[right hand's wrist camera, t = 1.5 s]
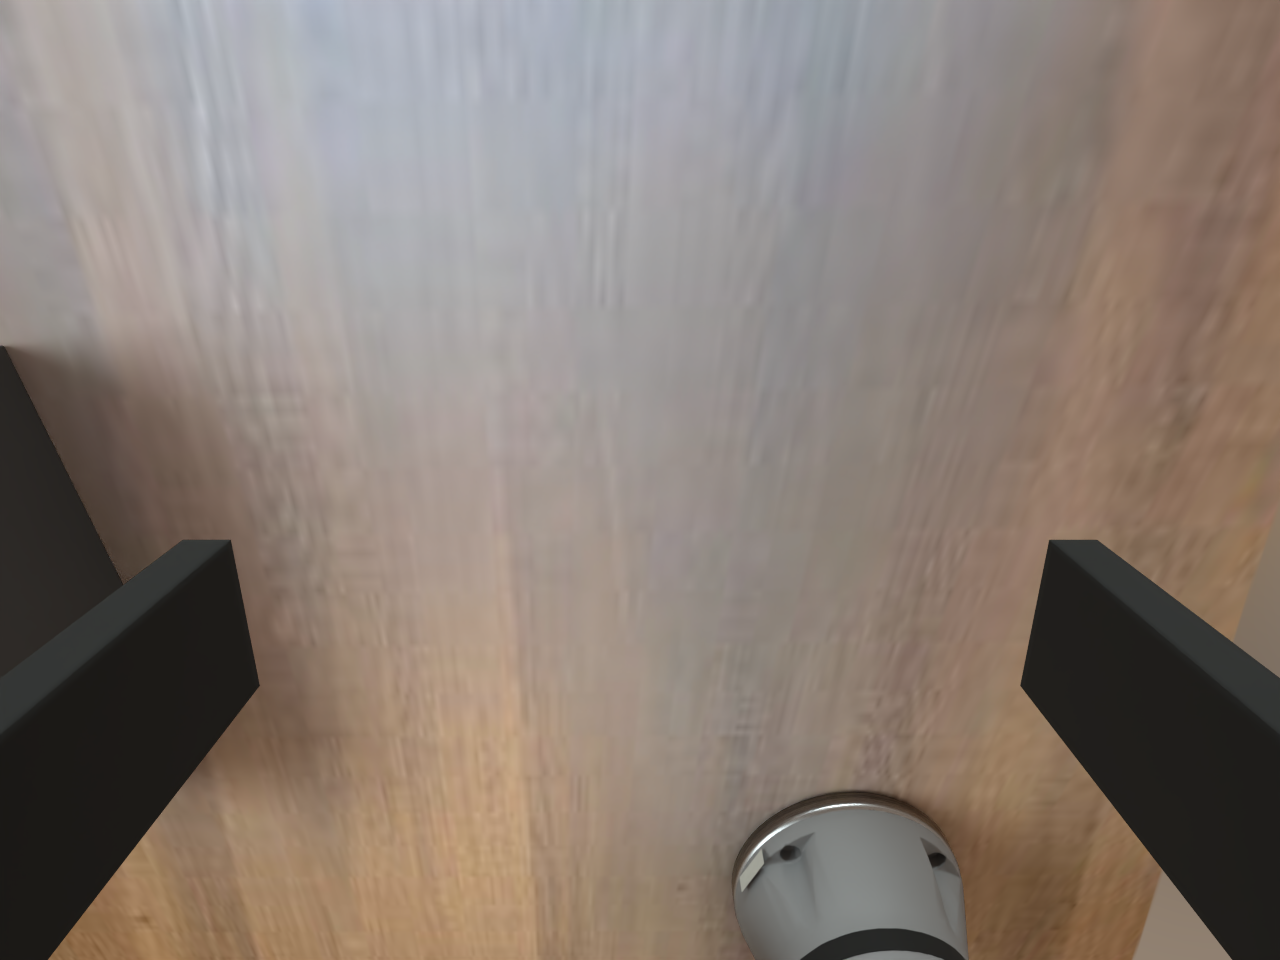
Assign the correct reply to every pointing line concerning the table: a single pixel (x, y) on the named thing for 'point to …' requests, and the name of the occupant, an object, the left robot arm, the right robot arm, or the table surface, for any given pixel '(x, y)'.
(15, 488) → the box
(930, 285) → the table surface
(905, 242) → the table surface
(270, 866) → the table surface
